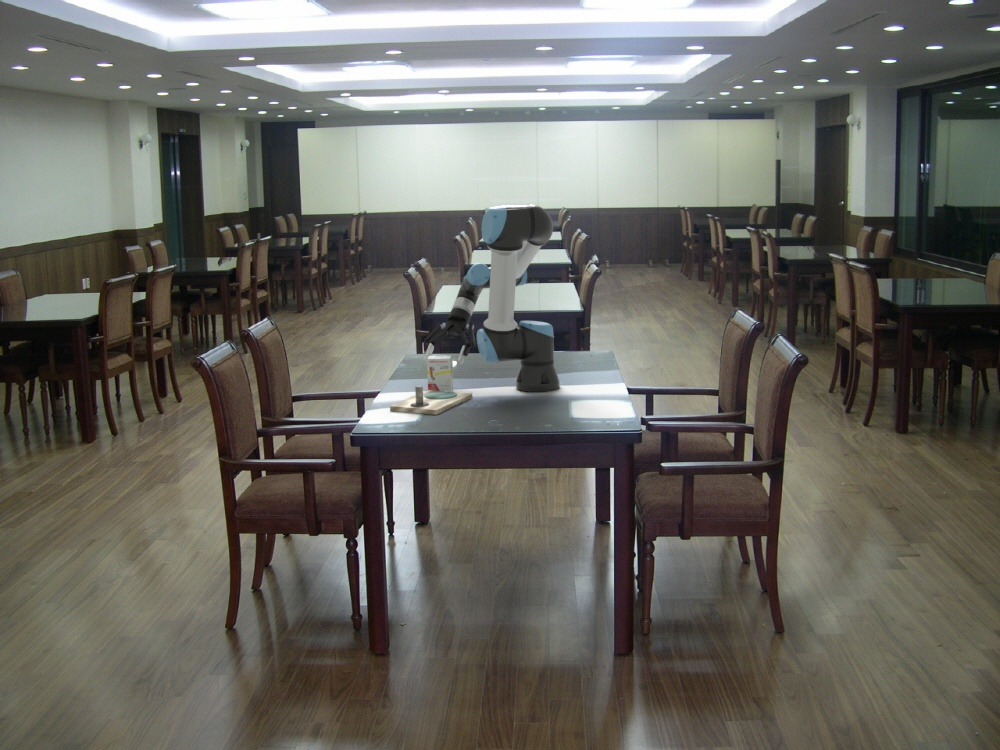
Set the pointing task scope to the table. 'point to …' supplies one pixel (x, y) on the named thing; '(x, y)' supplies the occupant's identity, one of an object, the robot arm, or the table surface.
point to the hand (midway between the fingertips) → (442, 361)
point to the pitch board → (430, 401)
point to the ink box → (440, 373)
